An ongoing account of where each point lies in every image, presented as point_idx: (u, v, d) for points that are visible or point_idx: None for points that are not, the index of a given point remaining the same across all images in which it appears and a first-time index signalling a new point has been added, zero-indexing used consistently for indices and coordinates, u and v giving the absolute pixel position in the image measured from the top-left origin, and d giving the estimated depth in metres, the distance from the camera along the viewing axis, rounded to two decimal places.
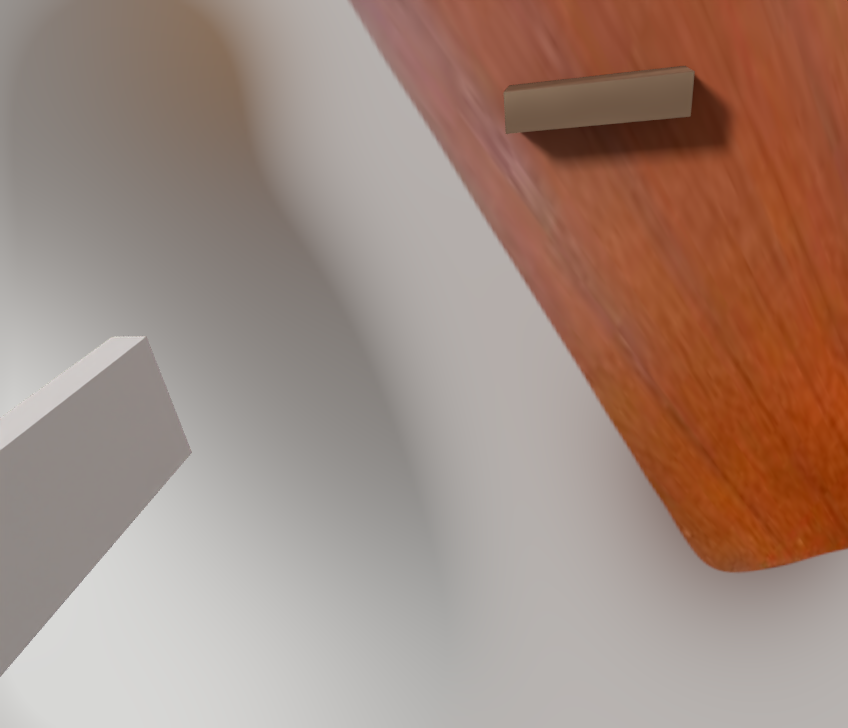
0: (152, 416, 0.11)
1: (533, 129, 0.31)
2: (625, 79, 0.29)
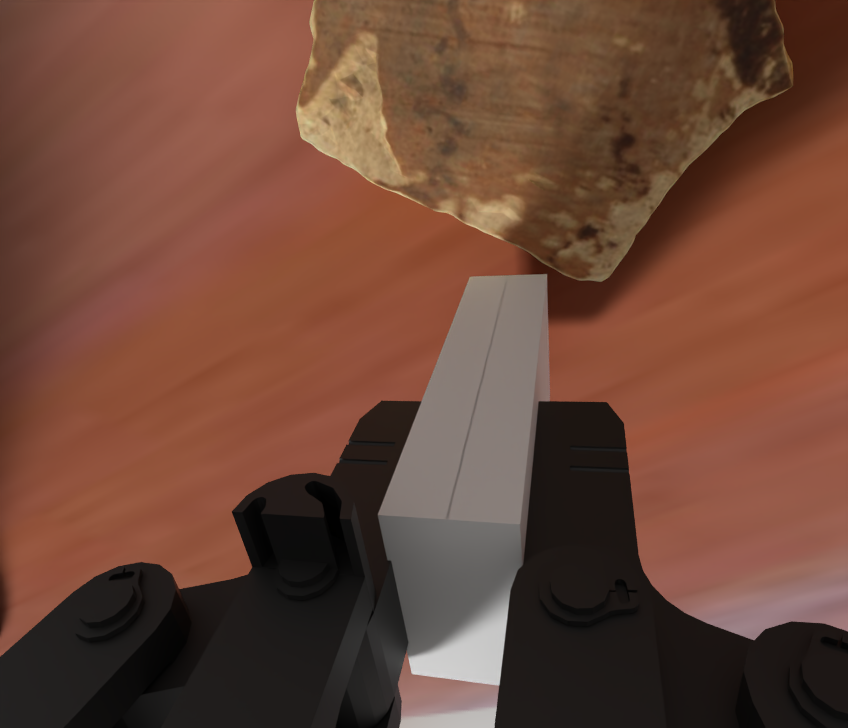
0: None
1: None
2: None
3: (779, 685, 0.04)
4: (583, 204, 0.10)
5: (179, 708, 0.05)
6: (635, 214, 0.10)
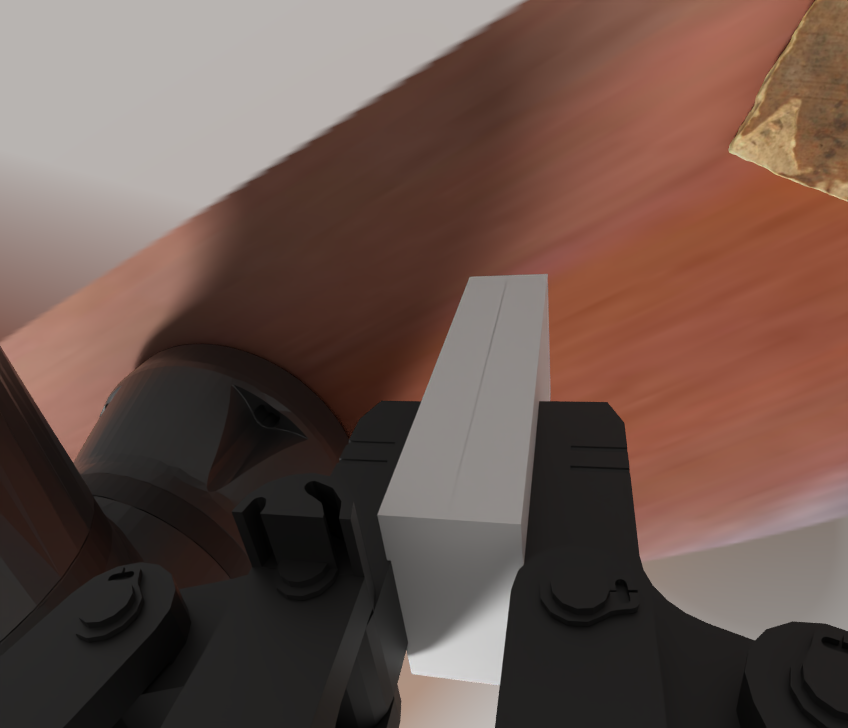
0: None
1: None
2: None
3: (780, 685, 0.04)
4: None
5: (179, 708, 0.05)
6: None
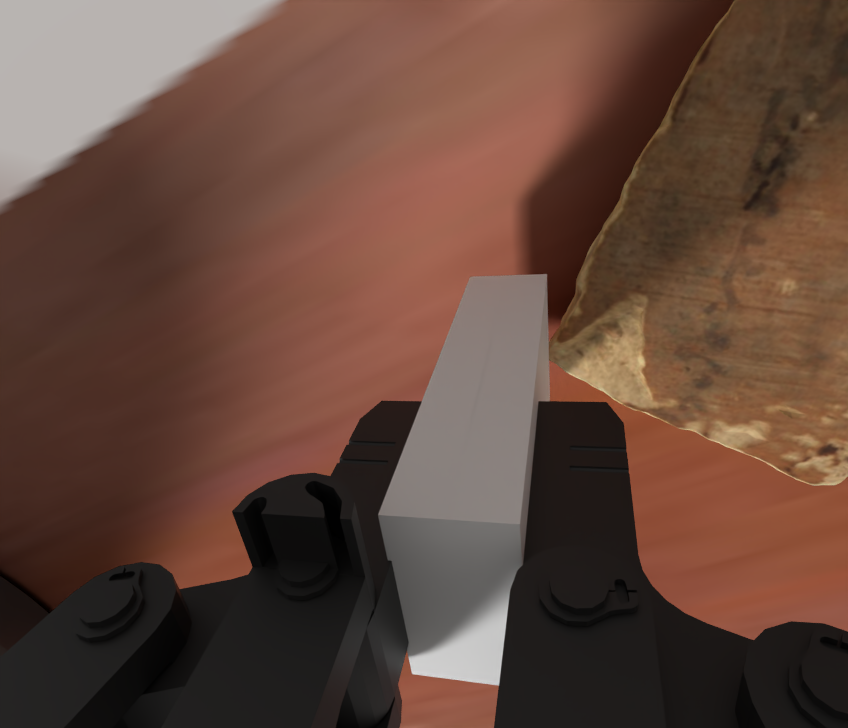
0: None
1: None
2: None
3: (778, 685, 0.04)
4: (827, 429, 0.12)
5: (179, 708, 0.05)
6: None
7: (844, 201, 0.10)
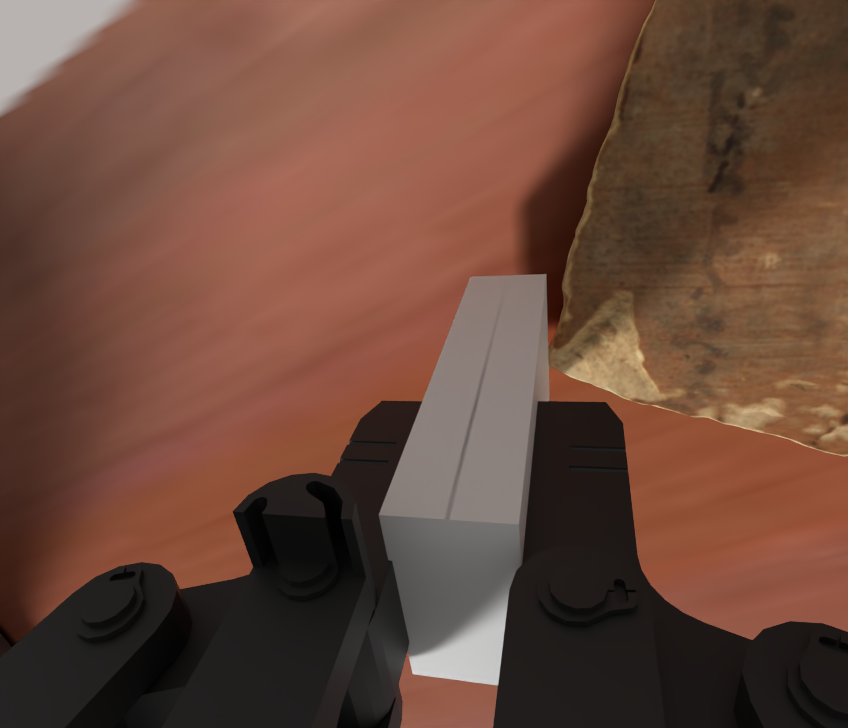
0: None
1: None
2: None
3: (777, 685, 0.04)
4: (845, 396, 0.11)
5: (180, 708, 0.05)
6: None
7: (808, 169, 0.10)
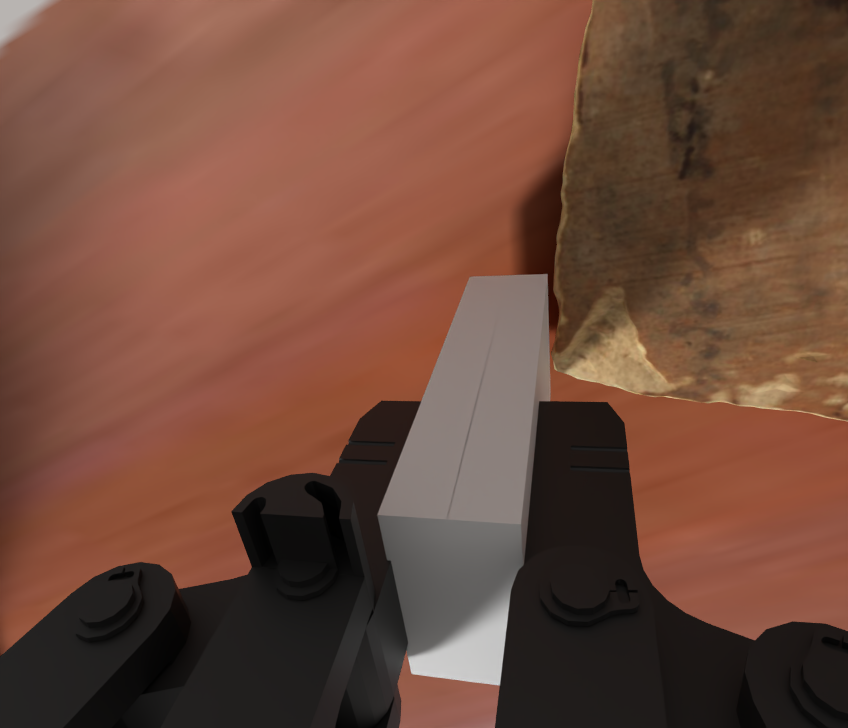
0: None
1: None
2: None
3: (780, 685, 0.04)
4: None
5: (179, 708, 0.05)
6: None
7: (775, 141, 0.09)
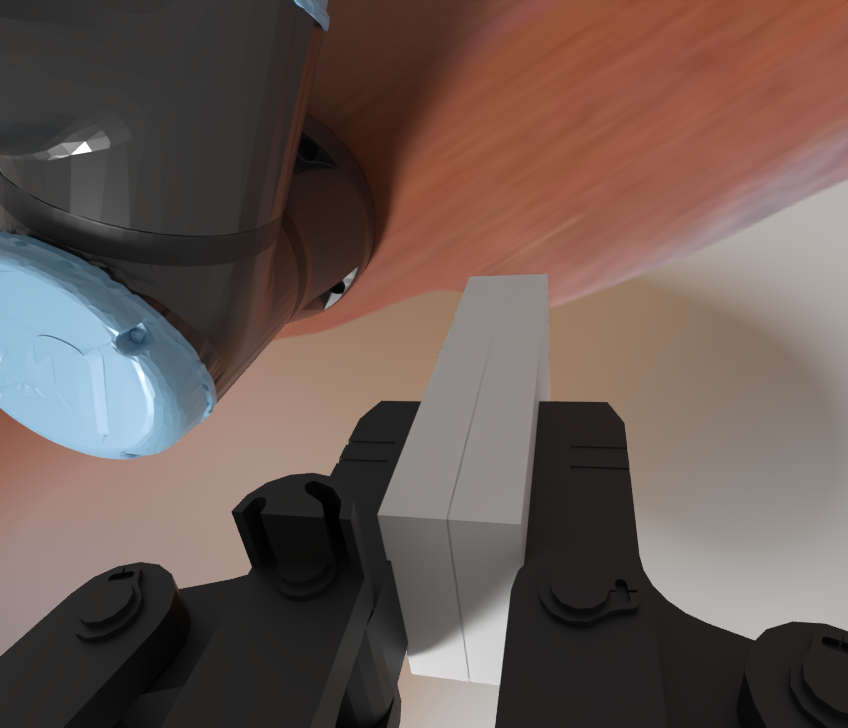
0: None
1: None
2: None
3: (780, 685, 0.04)
4: None
5: (179, 708, 0.05)
6: None
7: None
